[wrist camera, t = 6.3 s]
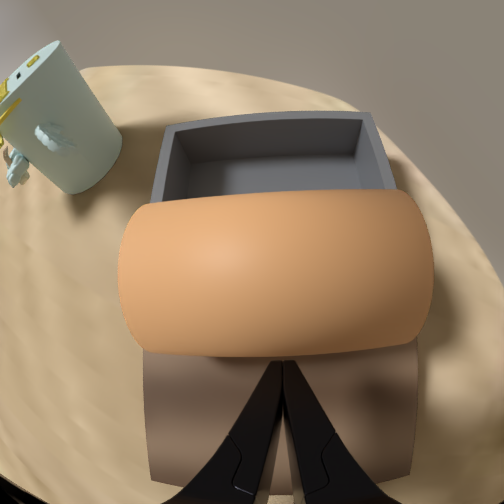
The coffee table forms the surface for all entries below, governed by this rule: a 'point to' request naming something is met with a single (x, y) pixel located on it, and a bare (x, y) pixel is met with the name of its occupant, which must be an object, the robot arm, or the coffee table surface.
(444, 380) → the coffee table surface
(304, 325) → the roller
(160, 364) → the board
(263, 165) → the tray
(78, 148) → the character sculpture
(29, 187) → the coffee table surface
